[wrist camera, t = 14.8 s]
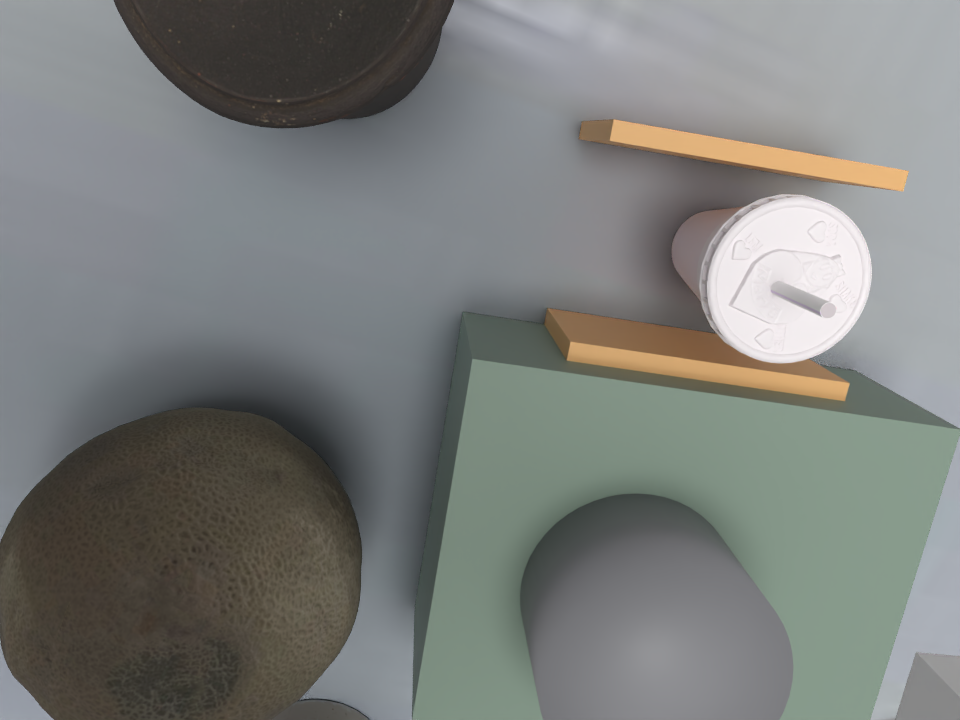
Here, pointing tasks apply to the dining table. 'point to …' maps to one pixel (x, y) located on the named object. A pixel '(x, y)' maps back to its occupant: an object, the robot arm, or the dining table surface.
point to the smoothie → (776, 275)
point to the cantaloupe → (180, 572)
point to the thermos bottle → (319, 711)
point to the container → (289, 54)
